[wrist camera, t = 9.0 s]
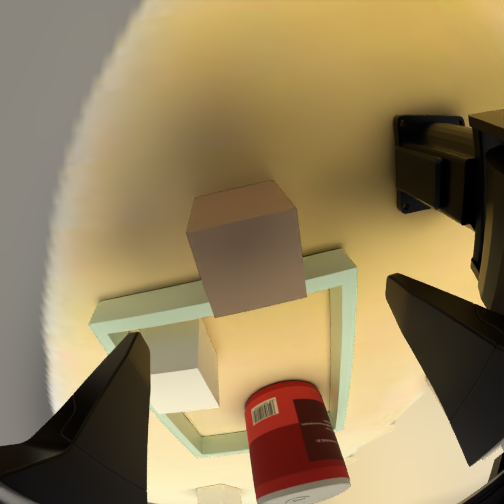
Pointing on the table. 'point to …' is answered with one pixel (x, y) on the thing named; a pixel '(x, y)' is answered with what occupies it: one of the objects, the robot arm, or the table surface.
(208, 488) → the milk
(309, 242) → the table surface
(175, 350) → the white block
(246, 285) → the brown carton
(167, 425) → the mint green rectangular frame
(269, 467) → the canned food
